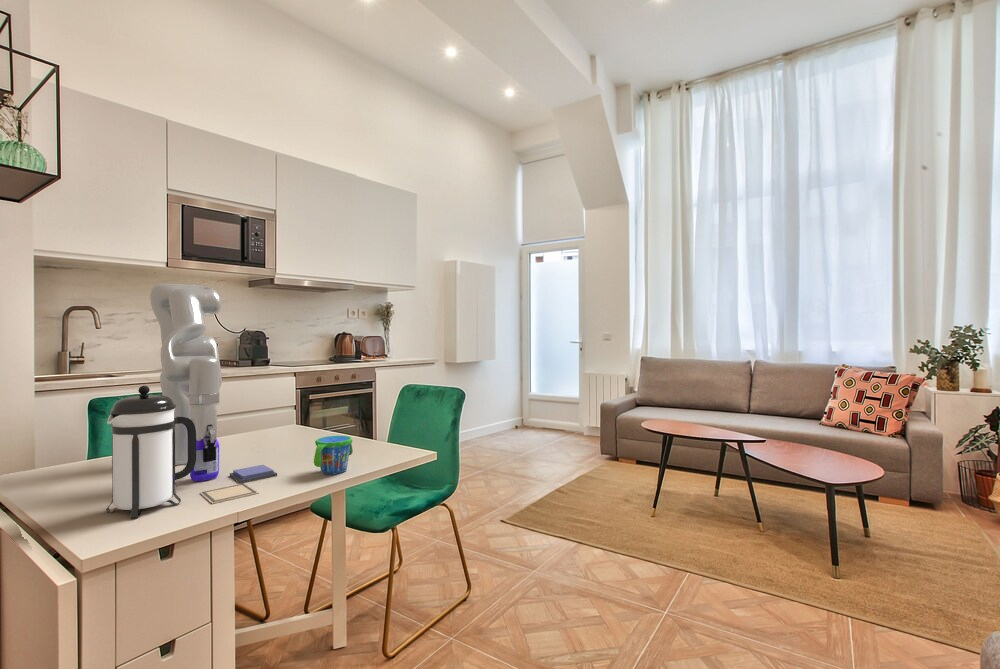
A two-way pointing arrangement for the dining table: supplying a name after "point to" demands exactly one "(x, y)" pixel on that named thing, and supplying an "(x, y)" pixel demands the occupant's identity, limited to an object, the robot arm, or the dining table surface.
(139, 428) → the coffee press
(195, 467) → the bottle
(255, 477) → the ink pad
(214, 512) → the dining table surface
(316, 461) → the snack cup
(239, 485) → the marked card
